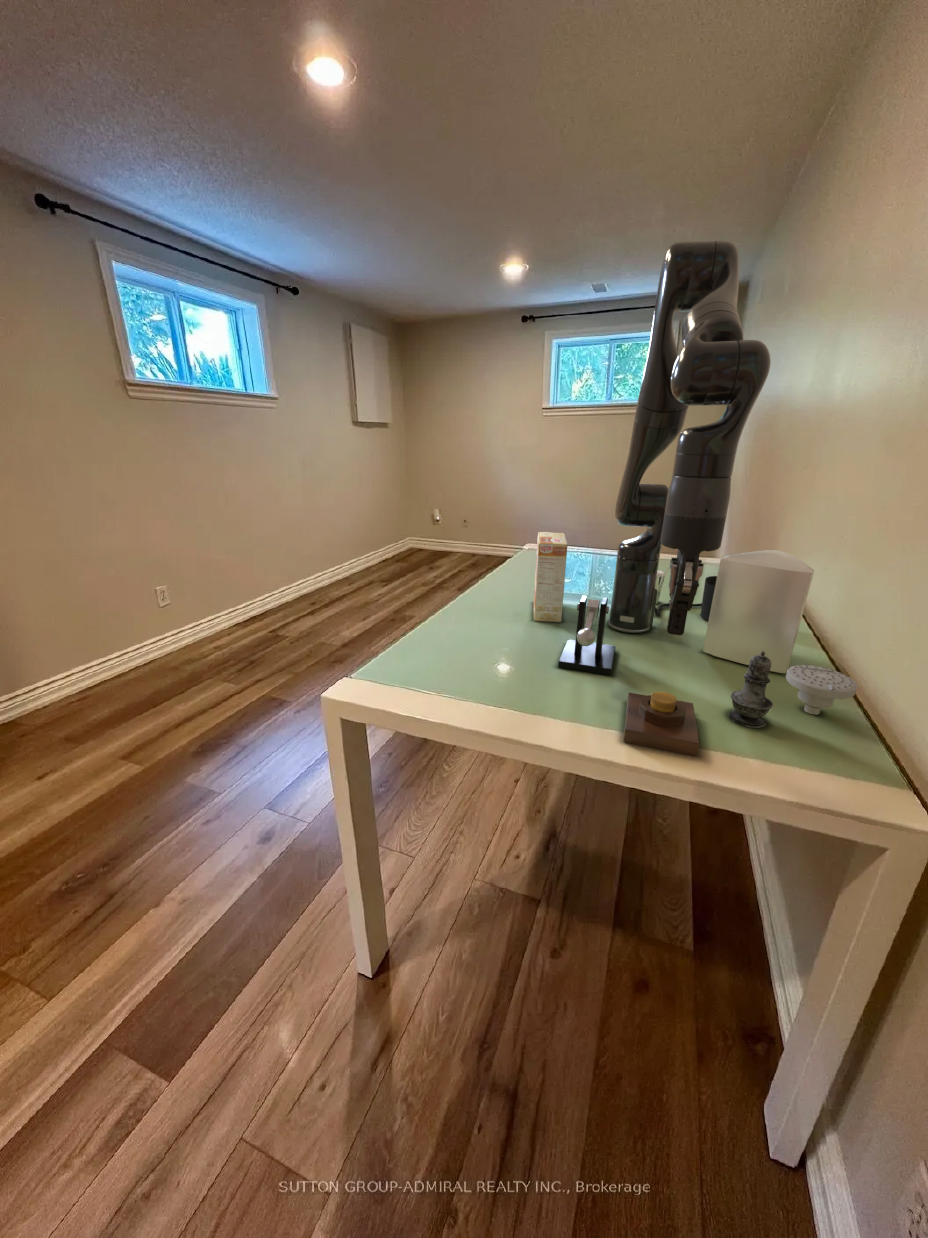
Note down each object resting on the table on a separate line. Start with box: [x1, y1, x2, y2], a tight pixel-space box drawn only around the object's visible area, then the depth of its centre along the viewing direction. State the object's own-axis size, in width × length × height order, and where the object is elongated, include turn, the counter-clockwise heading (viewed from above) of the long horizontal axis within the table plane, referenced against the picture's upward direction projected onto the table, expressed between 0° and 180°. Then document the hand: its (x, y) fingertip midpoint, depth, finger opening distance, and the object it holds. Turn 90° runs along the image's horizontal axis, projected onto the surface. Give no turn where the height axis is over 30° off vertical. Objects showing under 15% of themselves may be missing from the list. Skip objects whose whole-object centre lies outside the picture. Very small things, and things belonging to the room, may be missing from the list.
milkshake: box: [655, 567, 670, 605], centre depth 134 cm, size 4×5×10 cm
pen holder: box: [700, 575, 717, 622], centre depth 122 cm, size 9×9×10 cm
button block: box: [622, 692, 700, 757], centre depth 76 cm, size 12×10×4 cm
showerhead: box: [785, 664, 858, 716], centre depth 80 cm, size 9×7×10 cm
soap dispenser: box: [702, 549, 815, 675], centre depth 99 cm, size 15×14×22 cm
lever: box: [577, 598, 601, 646], centre depth 92 cm, size 13×3×3 cm, turn 160°
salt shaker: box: [728, 651, 774, 729], centre depth 77 cm, size 6×6×12 cm
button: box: [650, 691, 677, 713], centre depth 75 cm, size 4×4×2 cm
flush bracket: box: [557, 595, 616, 676], centre depth 98 cm, size 12×10×13 cm
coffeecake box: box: [533, 531, 568, 623], centre depth 124 cm, size 15×7×20 cm, turn 172°
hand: (674, 632), depth 71 cm, fingers closed
